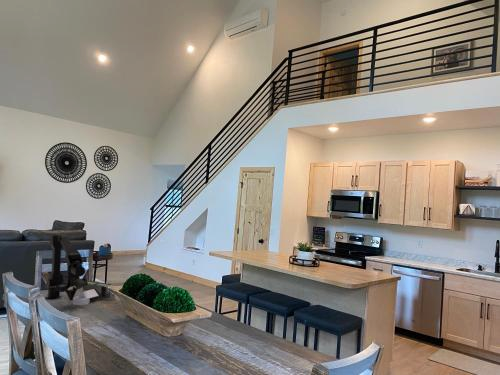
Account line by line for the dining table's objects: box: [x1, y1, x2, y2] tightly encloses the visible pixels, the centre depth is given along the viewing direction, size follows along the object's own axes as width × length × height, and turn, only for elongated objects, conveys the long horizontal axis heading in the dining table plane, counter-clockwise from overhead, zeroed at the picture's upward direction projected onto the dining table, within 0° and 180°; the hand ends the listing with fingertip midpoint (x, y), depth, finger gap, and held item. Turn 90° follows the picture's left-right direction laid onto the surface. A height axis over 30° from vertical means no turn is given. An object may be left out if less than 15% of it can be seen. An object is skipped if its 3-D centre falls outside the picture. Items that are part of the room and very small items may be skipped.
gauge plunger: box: [86, 280, 112, 300], centre depth 230 cm, size 18×6×9 cm, turn 69°
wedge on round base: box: [72, 289, 99, 306], centre depth 220 cm, size 9×7×13 cm
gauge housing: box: [82, 281, 116, 302], centre depth 231 cm, size 22×4×8 cm, turn 69°
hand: (71, 300), depth 211 cm, fingers closed
